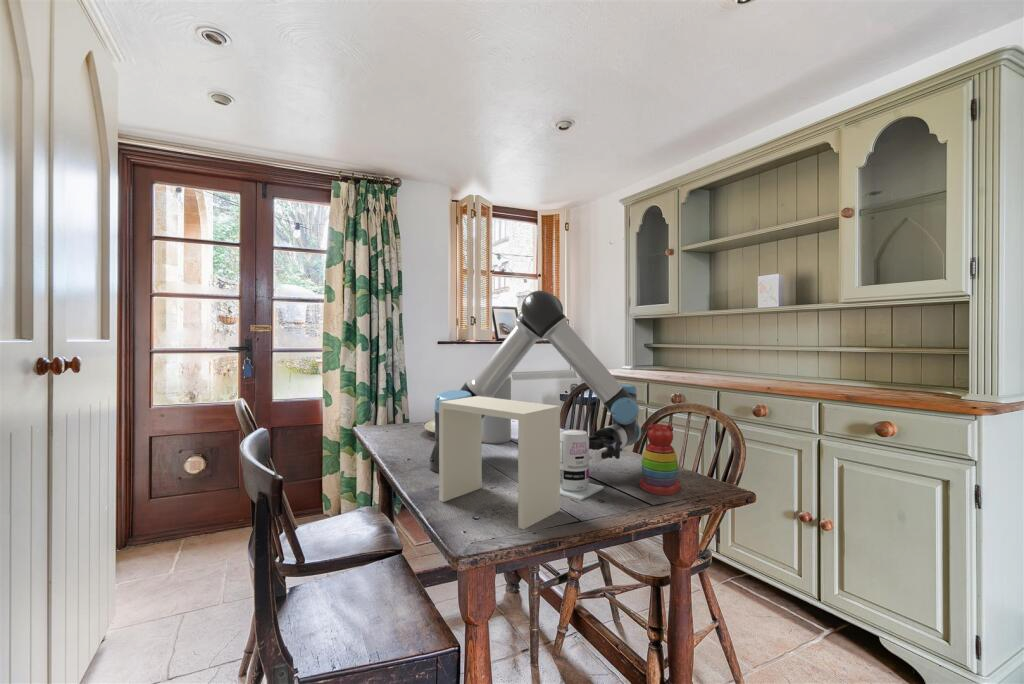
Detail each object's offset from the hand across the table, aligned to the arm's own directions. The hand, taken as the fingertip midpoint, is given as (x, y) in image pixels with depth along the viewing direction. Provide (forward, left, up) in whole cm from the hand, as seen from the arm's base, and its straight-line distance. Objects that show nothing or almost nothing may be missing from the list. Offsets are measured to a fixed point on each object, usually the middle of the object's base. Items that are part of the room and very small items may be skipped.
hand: (571, 453), depth 126 cm
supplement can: (0, +2, -10) cm, 10 cm away
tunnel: (-15, -16, -10) cm, 24 cm away
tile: (0, +2, -10) cm, 10 cm away
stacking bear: (+22, +10, -10) cm, 26 cm away
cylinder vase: (-41, +48, -10) cm, 63 cm away
